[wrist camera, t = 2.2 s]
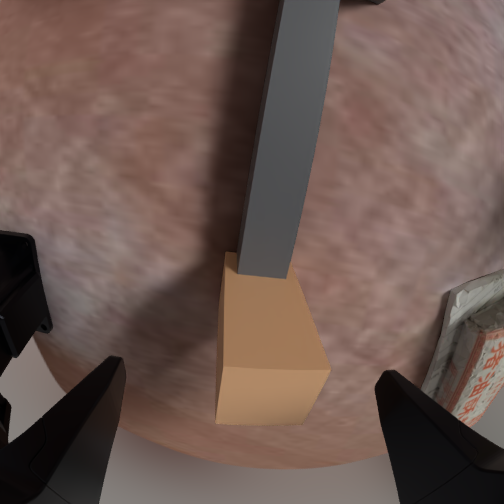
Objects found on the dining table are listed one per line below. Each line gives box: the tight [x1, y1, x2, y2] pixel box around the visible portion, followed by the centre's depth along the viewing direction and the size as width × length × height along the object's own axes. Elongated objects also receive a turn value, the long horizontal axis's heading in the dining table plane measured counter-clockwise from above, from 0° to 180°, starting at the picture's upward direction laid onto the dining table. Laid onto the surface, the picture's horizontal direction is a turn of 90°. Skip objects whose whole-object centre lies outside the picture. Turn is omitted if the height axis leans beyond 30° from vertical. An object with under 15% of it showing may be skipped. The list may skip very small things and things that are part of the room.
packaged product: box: [421, 269, 504, 427], centre depth 18 cm, size 18×5×10 cm
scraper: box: [215, 0, 385, 426], centre depth 8 cm, size 7×18×7 cm, turn 171°
